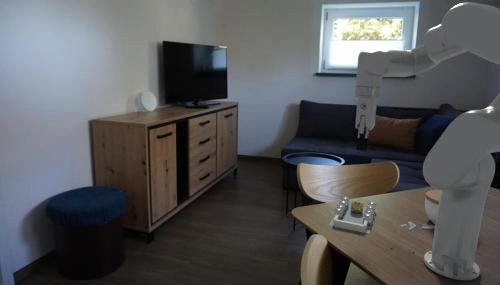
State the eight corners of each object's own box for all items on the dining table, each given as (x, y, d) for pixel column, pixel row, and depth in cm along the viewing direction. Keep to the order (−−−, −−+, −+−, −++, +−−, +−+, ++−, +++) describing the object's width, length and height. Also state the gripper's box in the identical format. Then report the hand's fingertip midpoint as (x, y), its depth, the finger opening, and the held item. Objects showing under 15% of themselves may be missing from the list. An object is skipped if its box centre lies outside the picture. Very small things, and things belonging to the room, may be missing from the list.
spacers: (370, 226, 112) (371, 217, 112) (333, 218, 117) (334, 210, 116) (375, 210, 124) (376, 202, 124) (341, 204, 129) (342, 196, 128)
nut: (361, 215, 120) (362, 206, 120) (349, 212, 122) (350, 204, 121) (363, 210, 124) (364, 202, 123) (351, 208, 126) (352, 200, 125)
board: (368, 236, 107) (369, 227, 107) (328, 228, 112) (329, 219, 112) (376, 212, 125) (377, 204, 125) (341, 206, 130) (342, 198, 129)
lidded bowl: (472, 233, 111) (478, 200, 109) (428, 229, 114) (433, 196, 111) (457, 217, 123) (462, 186, 121) (417, 213, 126) (422, 182, 123)
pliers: (443, 221, 117) (420, 234, 108) (443, 226, 117) (419, 238, 108) (414, 211, 124) (390, 222, 115) (413, 215, 125) (389, 226, 116)
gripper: (377, 94, 104) (371, 156, 108) (382, 91, 118) (376, 146, 122) (350, 93, 107) (345, 153, 111) (359, 90, 121) (353, 143, 125)
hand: (361, 149), depth 116 cm, fingers closed
